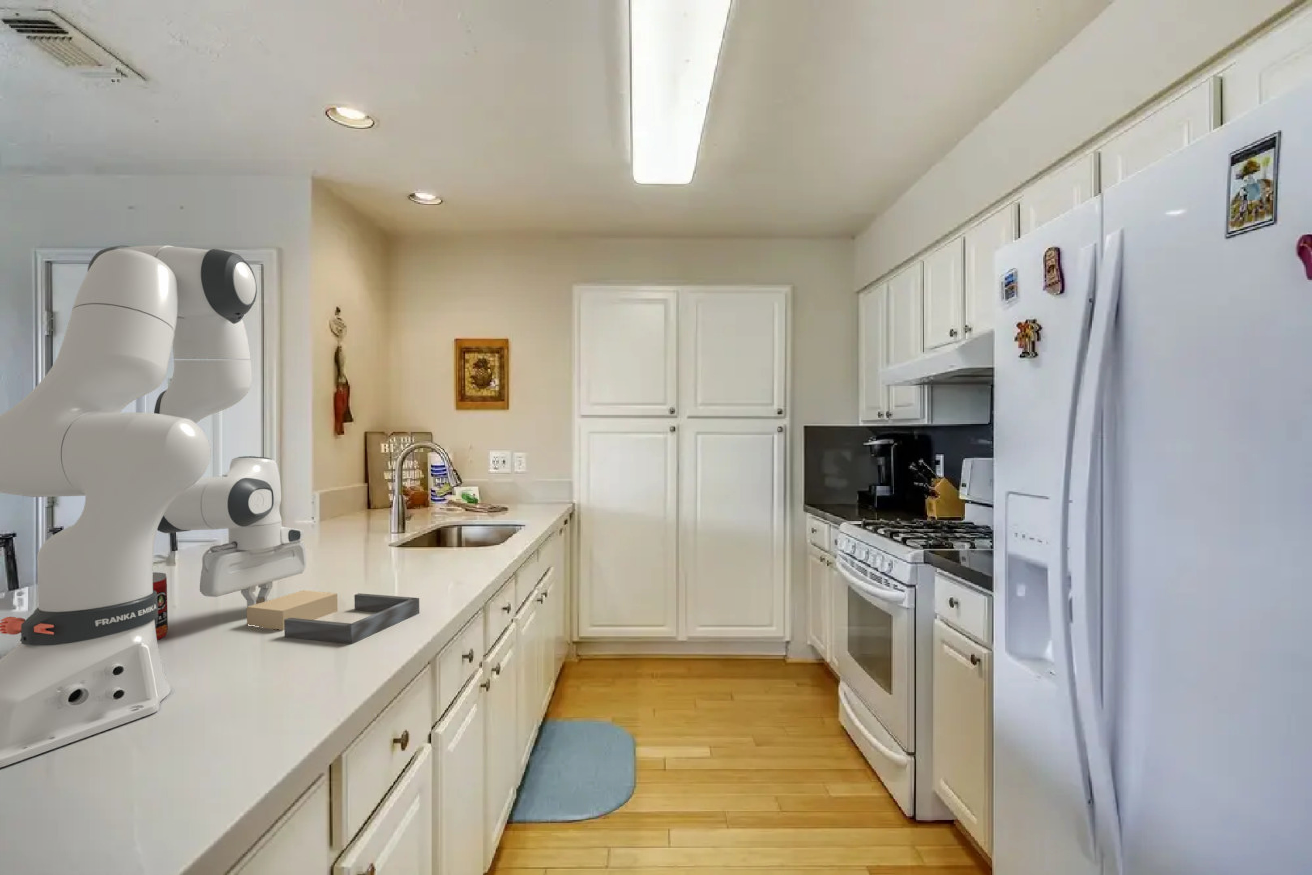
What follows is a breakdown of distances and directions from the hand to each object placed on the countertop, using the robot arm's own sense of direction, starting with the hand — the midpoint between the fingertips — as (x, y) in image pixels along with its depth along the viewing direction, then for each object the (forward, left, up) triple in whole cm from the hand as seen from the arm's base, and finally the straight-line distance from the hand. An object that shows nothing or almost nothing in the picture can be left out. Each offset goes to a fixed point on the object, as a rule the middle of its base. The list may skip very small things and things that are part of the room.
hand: (257, 607), depth 117 cm
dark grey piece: (0, -23, -2) cm, 23 cm away
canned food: (-16, +8, -2) cm, 18 cm away
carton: (0, -9, -2) cm, 9 cm away
